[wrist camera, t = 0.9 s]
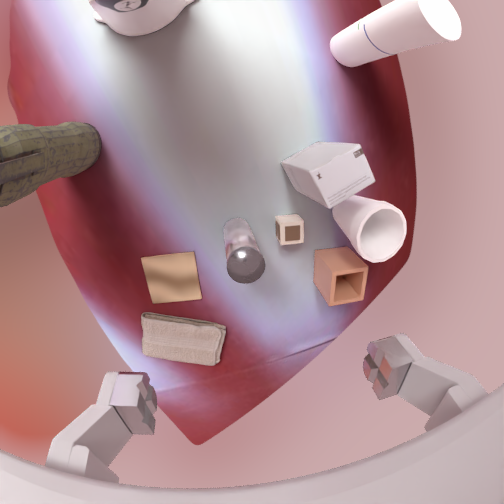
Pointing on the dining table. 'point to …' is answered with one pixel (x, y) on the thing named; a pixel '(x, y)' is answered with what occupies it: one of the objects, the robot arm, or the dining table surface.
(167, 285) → the cork coaster
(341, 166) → the skincare box
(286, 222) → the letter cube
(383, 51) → the cylindrical container
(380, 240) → the foam cup
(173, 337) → the washcloth
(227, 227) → the tin canister
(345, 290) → the terracotta planter
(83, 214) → the dining table surface
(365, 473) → the robot arm
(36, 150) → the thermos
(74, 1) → the dining table surface
